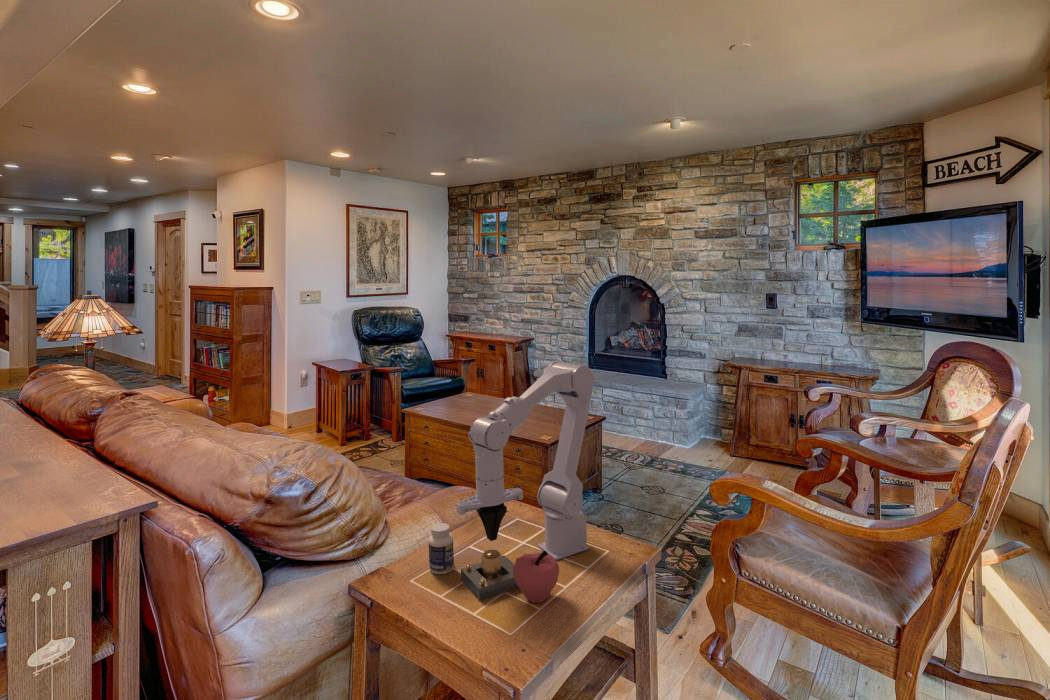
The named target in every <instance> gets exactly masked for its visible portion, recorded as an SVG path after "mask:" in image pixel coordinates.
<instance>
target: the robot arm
mask: <svg viewBox="0 0 1050 700" xmlns="http://www.w3.org/2000/svg"><path fill="white" fill-rule="evenodd" d="M591 370H592V369H590V367H589V366H587V365H583V364H581V365H580V364H575V363H574V364H572V363H566V362H561V361H559V360H558V361H552V362H551V363H550V364H549V365H548V366H546V367H544V369H543V373H542V374H541V376H540V377H539V378H538V379H537V380H536V381H535V382H534V383H532V384H531V385H530V387H528V388H527V389H526V390H525V391H524V392H523V393H522V394H521V395H520V396H519V397H518V396H511V397H510V396H509V397H506V398H505V399H504V400H503V401H504V402H502V403H501V405H500V406H498V407H497V408H495V409H494V410H493V411H490V412H489V413H488V415H487V416H486V417H485V416H484V417H480V418H477V419H476V420H475V421H473V423H471V425H470V429H469V432H468V433H467V437H468V439H469V442H471V444H472V447H473V451H474V462H475V487H476V489H475V490H476V491H475V492H476V494H475V495H473V496H470V497H469V498H466V499H465V500H464V499H463V500H462V501H458V502H456V506H455V507H456V513H457V514H458V515H460V516H464V515H465V514H466V513H468V512H473V511H476V513H477V514H478V516H479V518H480V520H481V523H482V525H483V528H484V531H485V535H486V538H487V539H488V540H489V541H490V542H492V541H493V542H494V541H496V540H497V539H498V534H499V531H500V527H501V524H502V521H503V519H504V517H505V516H506V514H507V512H508V511H507V510H508V507H507V505H505V503H508V502H511V501H516V500H518V501H521V500H523V499H524V490H523V489H521V488H520V487H514V488H507V489H505V479H504V478H505V476H504V474H505V473H504V448H505V447H506V445H507V444H508V442H509V438H510V436H511V435H512V433H513V432H514V431H515V430H516V429H517V428H518V427H519V426H520V425H522V424H523V423H524V422H525V421H526V420H527V419H529V417H530V413H531V412H530V410H531V409H532V408H534V407H536V406H538V404H539V403H541V402H542V401H544V400H545V399H546V398H548V397H549V396H550V395H551V394H553V393H557V394H558V395H559V396H560V397H561V398H562V400H563V401H564V402H565V409H564V414H563V419H562V424H561V428H560V434H559V439H558V442H557V448H556V451H555V458H554V462H553V468H552V470H551V471H549V472H547V473H545V474H544V475H543V479H542V482H541V484H540V486H539V488H538V490H537V494H536V495H537V502H538V504H539V505H540V506H541V507H542V511H543V513H544V541H543V542H541V543H540V542H539V543H538V544H537V547H538V548H540V549H541V550H543V551H544V550H545V551H546V552H547V553H548V555H549V556H553V558H554V559H555V561H557V560H561V559H563V558H567V557H569V556H570V557H571V556H573V555H575V554H578V553H582V552H584V551H587V550H589V546H588V545H587V544H588V543H587V539H588V538H587V534H588V533H587V531H588V530H587V518H586V515H585V514H584V512H583V510H582V507H583V503H584V502H583V501H584V498H583V496H584V495H583V489H584V484H583V483H582V482H581V480H580V479H579V477H578V476H577V471H578V465H579V460H580V455H581V450H582V444H583V440H584V437H585V431H586V426H587V421H588V420H587V419H588V416H589V411H590V405H591V399H592V393H593V388H594V384H595V379H596V377H595V375H594V373H593V371H591ZM543 551H542V552H543Z"/></svg>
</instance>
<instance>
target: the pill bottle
mask: <svg viewBox="0 0 1050 700" xmlns="http://www.w3.org/2000/svg"><path fill="white" fill-rule="evenodd" d="M430 529H431V530H430V532H431V533H430V534H431V535H429V538H428V562H429V563H428V564H429V570H430V572H431V573H432V574H435V575H445V574H448V573H450V572H452V571H453V569H454V567H455V558H454V557H455V554H454V552H455V551H454V538H453V537H454V536H453V535H452V534H451V533H450V532H451V531H450V530H451V529H450V525H449V524H448V523H445V522H444V523H443V522H442V523H435V524H433V525H431V527H430Z"/></svg>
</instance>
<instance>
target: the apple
mask: <svg viewBox="0 0 1050 700" xmlns="http://www.w3.org/2000/svg"><path fill="white" fill-rule="evenodd" d="M514 564H515V565H514V567H513V574H514V578H515V581H516V583H517V585H518V589H519V590H520V591H521V593H522V594H523V595H524V597H525V599H526V600H528V601H529V602H531V603H533V604H535V603H543V602H544V601H545V599H547V598H548V597H549V596H550V593H551V592H552V590H553V589H554V588H555V585H556V584H557V583H558V581H559V580H558V579H559V576H560V575H559V574H560V566H559V564H558V563H557V560H555V559H554V558H553V556H550V555H549V554H548V553H547V552H546V551H545V550H544V551H542V552H539V551H537V552H532V553H527V552H525V553H523V554H522V555H521V556H520V557H517V558H516V559H515V562H514Z"/></svg>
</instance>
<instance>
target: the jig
mask: <svg viewBox="0 0 1050 700" xmlns="http://www.w3.org/2000/svg"><path fill="white" fill-rule="evenodd" d="M514 565H515V562H513V561H511V560H510V559H509V557H507V556H506V555H501V571H502V576H501V577H498V578H495V579H492V580H489V581H486V580H485V579H484V578H483V570H482V561H481V562H479V563H476V564H470V563H467V564H466V565H465V567H462V568H460V580H461V581H462V583H463V584H464V585H465V586H466V587H467V588H468V589H469V590H470V592H471V593H472V594H473V595H474V596H475V597H476V599H477V600H478V601H483V600H486V599H489V598H492V597H494V596H498V595H500V594H503V593H506V592H508V591H511V590H512V591H513V590H514V589H519V587H518V585H517V583H516V581H515V578H514V574H513V567H514Z"/></svg>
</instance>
